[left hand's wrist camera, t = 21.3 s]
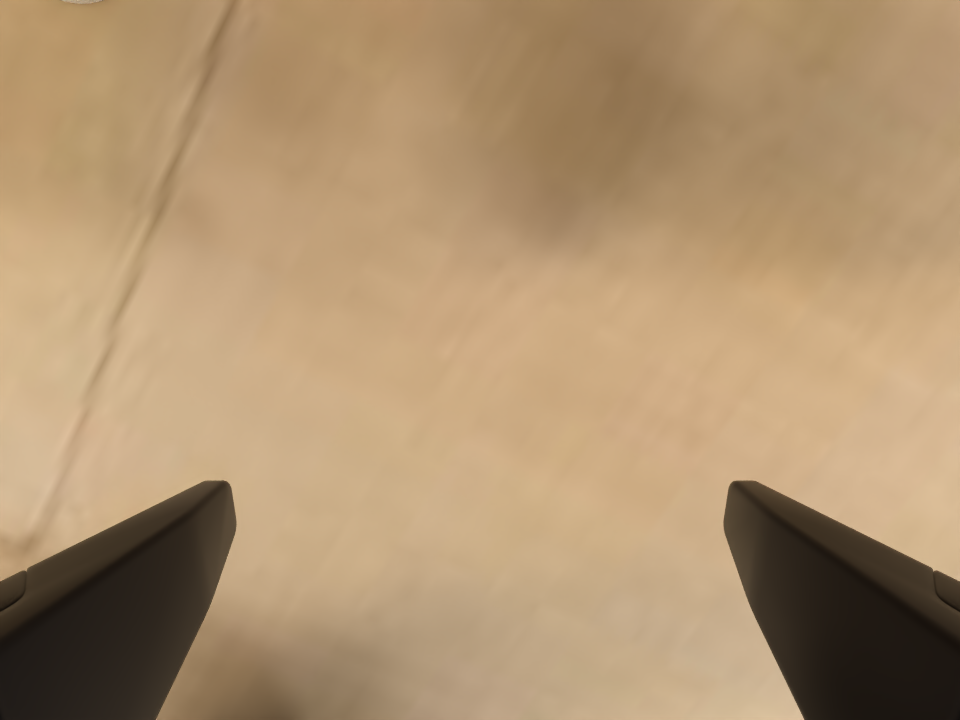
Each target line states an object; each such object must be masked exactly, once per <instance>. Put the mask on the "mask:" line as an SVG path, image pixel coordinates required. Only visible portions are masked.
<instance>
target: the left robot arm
mask: <svg viewBox="0 0 960 720" xmlns="http://www.w3.org/2000/svg"><path fill="white" fill-rule="evenodd" d="M235 532H236V515H235V509H234V502H233V496H232V489H231V486H230V484H229V483H228V482H227V481H204V482H202V483H200V484H197V485H195V486H193V487H191V488H189V489H187V490H185V491H183V492H181V493H179V494H177V495H175V496H173V497H171V498H169V499H167V500H165V501H163V502H161V503H159V504H157V505H155V506H153V507H151V508H149V509H147V510H145V511H143V512H141V513H139V514H137V515H135V516H133V517H131V518H129V519H126V520H124V521H122V522H120V523H118V524H116V525H114V526H112V527H110V528H108V529H106V530H104V531H102V532H100V533H98V534H96V535H94V536H92V537H90V538H88V539H86V540H84V541H82V542H80V543H78V544H76V545H74V546H72V547H70V548H68V549H66V550H64V551H62V552H60V553H58V554H55V555H53V556H51V557H49V558H47V559H45V560H43V561H41V562H39V563H37V564H35V565H33V566H31V567H29V568H28V569H27V572H26V571H21V572H19V573H17V574H15V575H13V576H11V577H9V578H7V579H5V580H3V581H0V720H156V718H157V716H158V713H159V711H160V709H161V707H162V705H163V703H164V701H165V699H166V697H167V695H168V693H169V691H170V689H171V686H172V684H173V682H174V680H175V678H176V676H177V674H178V672H179V670H180V668H181V666H182V664H183V662H184V659H185V657H186V655H187V653H188V651H189V649H190V647H191V645H192V643H193V641H194V639H195V637H196V635H197V632H198V630H199V628H200V626H201V624H202V622H203V620H204V618H205V616H206V613H207V611H208V609H209V607H210V604H211V602H212V599H213V596H214V594H215V591H216V588H217V585H218V582H219V579H220V576H221V573H222V570H223V567H224V564H225V562H226V559H227V556H228V553H229V550H230V547H231V544H232V541H233V538H234V535H235ZM724 532H725V535H726V538H727V541H728V544H729V547H730V550H731V553H732V556H733V559H734V562H735V565H736V567H737V570H738V573H739V576H740V579H741V582H742V585H743V588H744V591H745V594H746V596H747V599H748V602H749V604H750V607H751V609H752V611H753V613H754V616H755V618H756V620H757V622H758V624H759V626H760V628H761V630H762V632H763V635H764V637H765V639H766V641H767V643H768V645H769V647H770V649H771V651H772V653H773V655H774V657H775V659H776V662H777V664H778V666H779V668H780V670H781V672H782V674H783V676H784V678H785V680H786V682H787V684H788V687H789V689H790V691H791V693H792V695H793V697H794V699H795V701H796V703H797V705H798V707H799V709H800V711H801V714H802V716H803V718H804V720H960V581H957V580H955V579H953V578H951V577H949V576H947V575H945V574H943V573H941V572H939V571H934V572H933V569H932V568H931V567H929V566H927V565H925V564H923V563H921V562H919V561H917V560H915V559H913V558H911V557H909V556H907V555H904V554H902V553H900V552H898V551H896V550H894V549H892V548H890V547H888V546H886V545H884V544H882V543H880V542H878V541H876V540H874V539H872V538H870V537H868V536H866V535H864V534H862V533H860V532H858V531H856V530H854V529H852V528H850V527H848V526H846V525H844V524H842V523H840V522H838V521H836V520H833V519H831V518H829V517H827V516H825V515H823V514H821V513H819V512H817V511H815V510H813V509H811V508H809V507H807V506H805V505H803V504H801V503H799V502H797V501H795V500H793V499H791V498H789V497H787V496H785V495H783V494H781V493H779V492H777V491H775V490H773V489H771V488H769V487H767V486H765V485H762V484H760V483H758V482H756V481H733V482H732V483H731V484H730V486H729V489H728V495H727V502H726V509H725V515H724Z"/></svg>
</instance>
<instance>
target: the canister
mask: <svg viewBox="0 0 960 720" xmlns="http://www.w3.org/2000/svg"><path fill="white" fill-rule="evenodd" d="M62 1H65V2H69V3H77V4H89V3H95V2H99V1H102V0H62Z"/></svg>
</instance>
